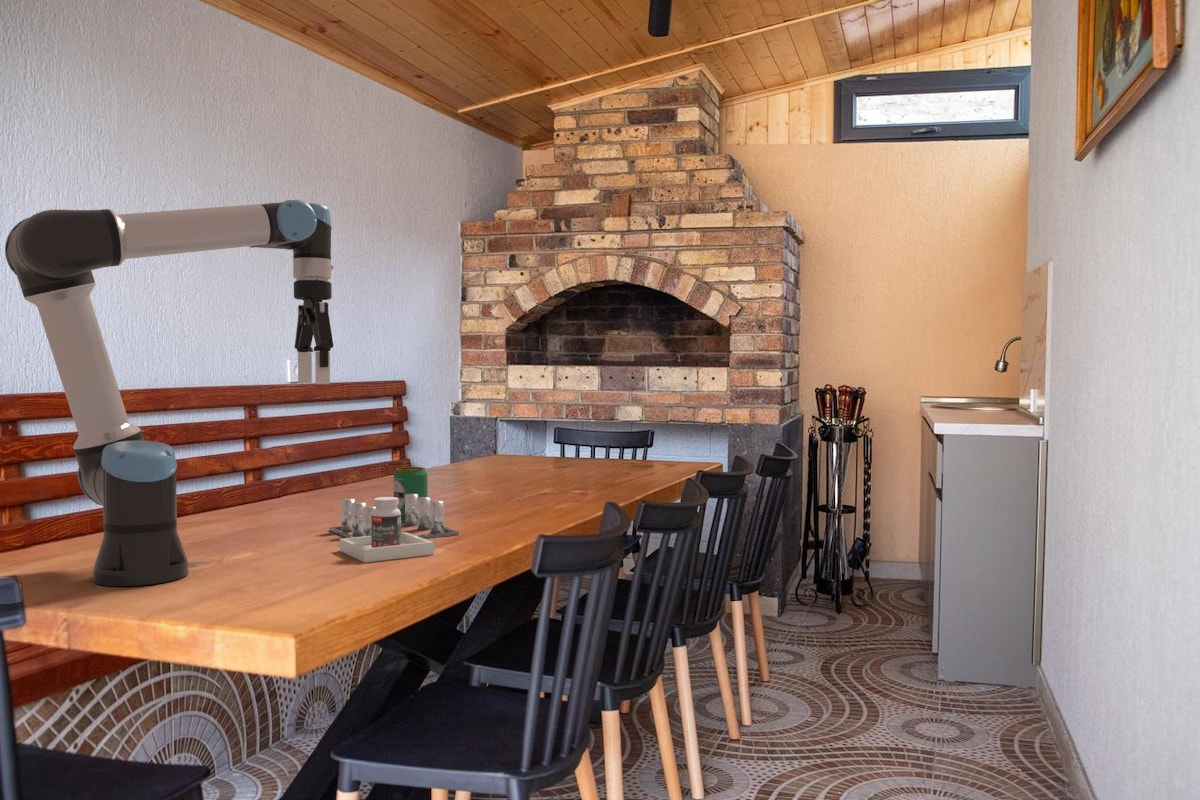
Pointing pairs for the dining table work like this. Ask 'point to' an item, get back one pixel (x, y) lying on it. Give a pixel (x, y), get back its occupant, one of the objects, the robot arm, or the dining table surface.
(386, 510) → the pill bottle
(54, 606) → the dining table surface
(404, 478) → the beverage can
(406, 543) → the dish
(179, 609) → the dining table surface
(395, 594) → the dining table surface
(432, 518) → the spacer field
